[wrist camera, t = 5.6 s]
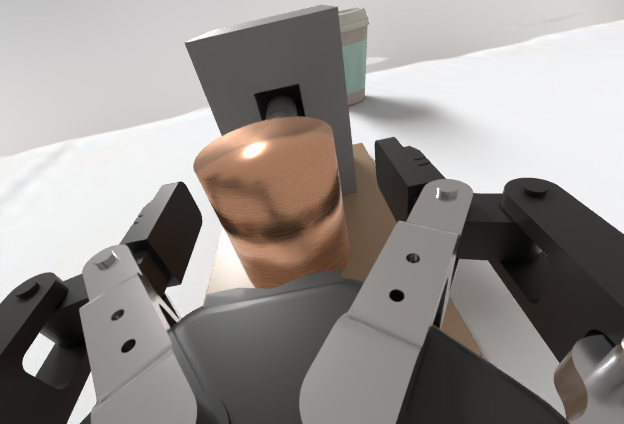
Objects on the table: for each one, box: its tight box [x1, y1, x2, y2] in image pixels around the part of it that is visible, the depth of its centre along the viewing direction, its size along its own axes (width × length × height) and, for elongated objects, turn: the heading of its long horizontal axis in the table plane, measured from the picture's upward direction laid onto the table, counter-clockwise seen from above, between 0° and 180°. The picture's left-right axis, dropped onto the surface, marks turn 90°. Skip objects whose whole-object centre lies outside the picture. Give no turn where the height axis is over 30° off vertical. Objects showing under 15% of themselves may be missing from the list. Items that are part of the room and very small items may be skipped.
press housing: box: [185, 5, 482, 356], centre depth 18 cm, size 23×14×14 cm, turn 4°
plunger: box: [193, 94, 350, 289], centre depth 14 cm, size 14×4×5 cm, turn 3°
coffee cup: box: [338, 7, 369, 105], centre depth 43 cm, size 8×8×12 cm
